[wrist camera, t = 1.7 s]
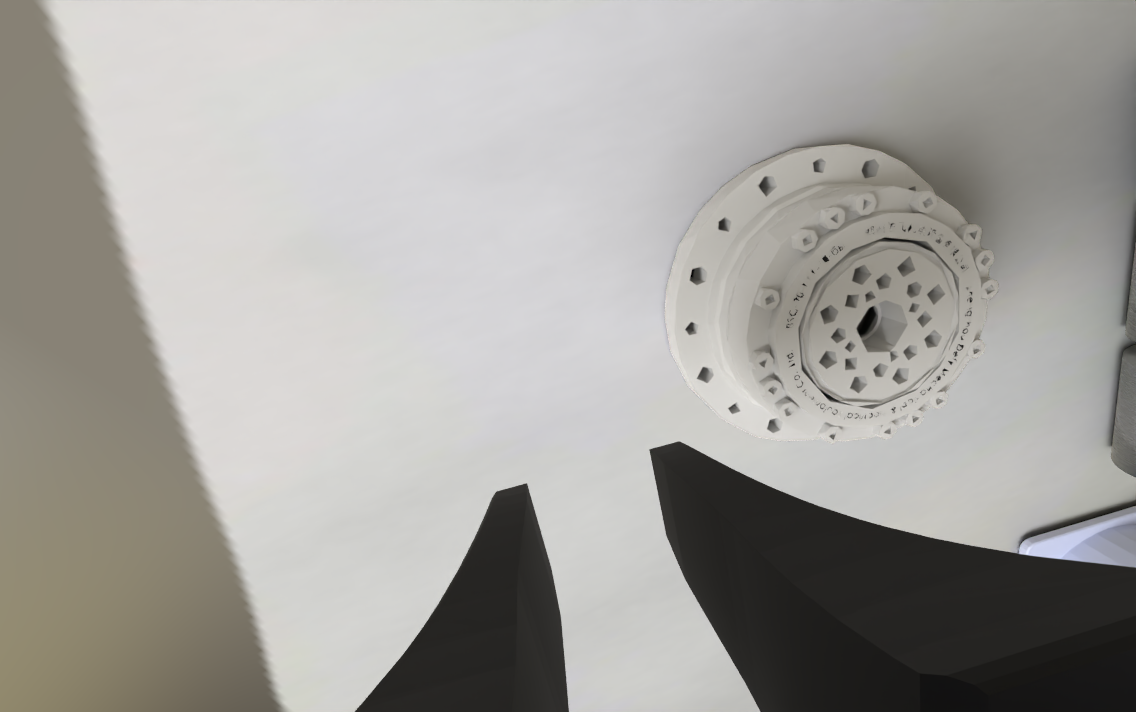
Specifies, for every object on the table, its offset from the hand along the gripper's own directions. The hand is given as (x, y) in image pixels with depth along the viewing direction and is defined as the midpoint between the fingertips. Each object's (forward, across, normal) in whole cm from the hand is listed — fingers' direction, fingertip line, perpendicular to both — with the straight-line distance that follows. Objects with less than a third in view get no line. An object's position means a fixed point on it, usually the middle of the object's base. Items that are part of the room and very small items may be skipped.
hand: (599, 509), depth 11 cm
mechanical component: (+9, -9, 0) cm, 13 cm away
